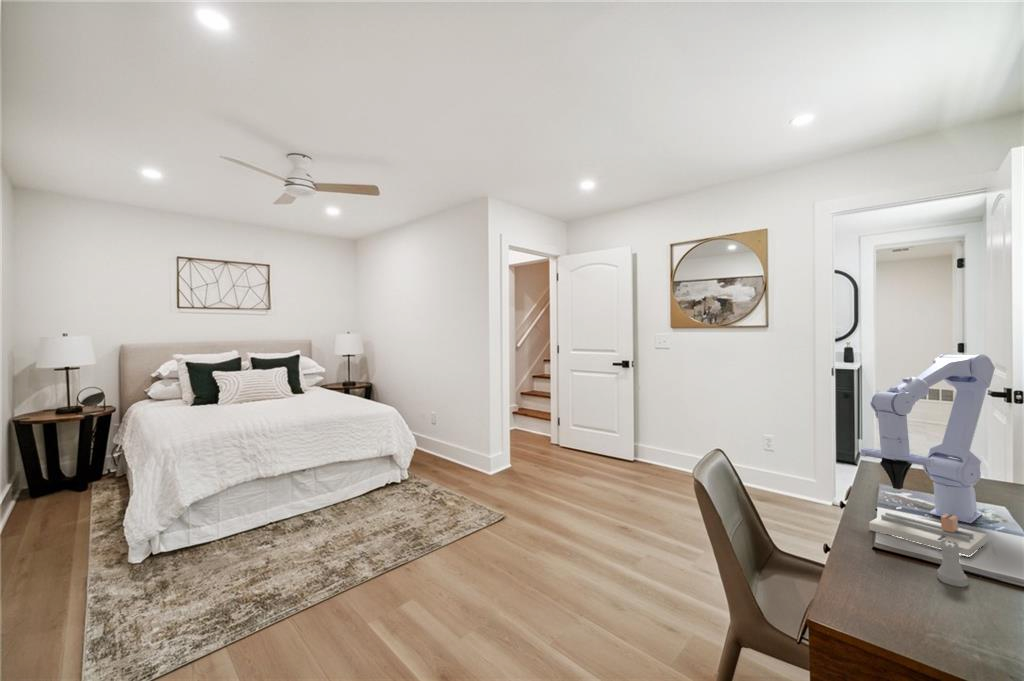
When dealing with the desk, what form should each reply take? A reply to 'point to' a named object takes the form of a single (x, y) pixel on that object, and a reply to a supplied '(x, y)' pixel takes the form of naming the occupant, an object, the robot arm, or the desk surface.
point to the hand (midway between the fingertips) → (898, 488)
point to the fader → (949, 522)
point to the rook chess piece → (951, 565)
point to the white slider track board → (926, 531)
